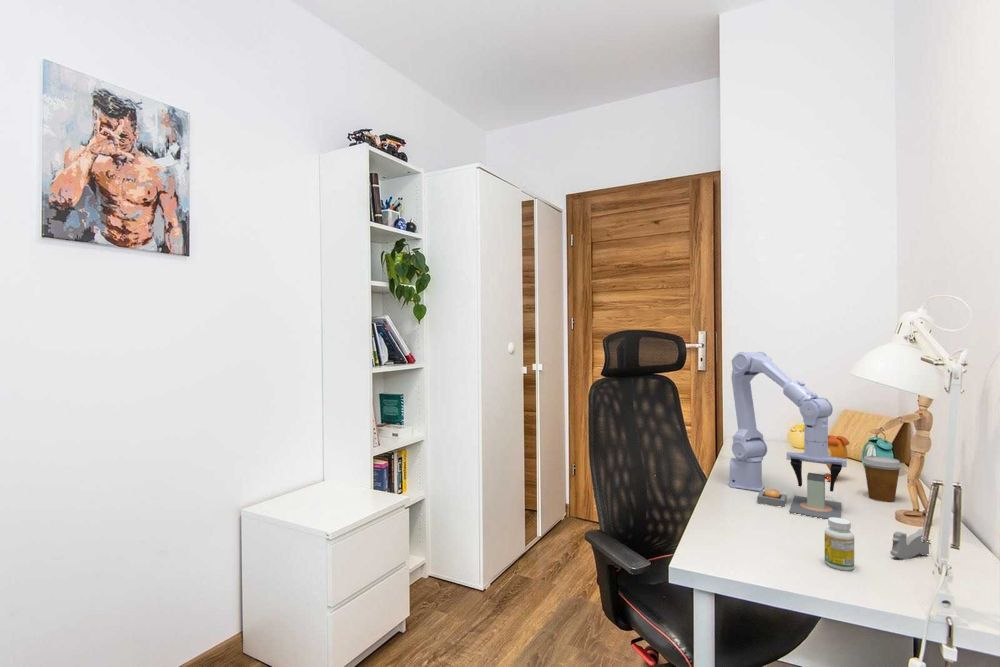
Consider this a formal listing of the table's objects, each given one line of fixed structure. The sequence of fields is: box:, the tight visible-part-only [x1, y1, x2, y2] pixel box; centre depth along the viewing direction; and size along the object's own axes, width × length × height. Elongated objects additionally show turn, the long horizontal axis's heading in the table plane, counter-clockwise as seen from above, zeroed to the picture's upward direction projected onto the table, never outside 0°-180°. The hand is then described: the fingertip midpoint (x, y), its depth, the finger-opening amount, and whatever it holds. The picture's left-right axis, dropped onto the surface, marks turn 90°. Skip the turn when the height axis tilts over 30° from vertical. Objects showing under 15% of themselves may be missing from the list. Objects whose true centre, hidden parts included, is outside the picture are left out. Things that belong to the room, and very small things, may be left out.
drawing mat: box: [788, 494, 842, 520], centre depth 146 cm, size 12×18×1 cm, turn 146°
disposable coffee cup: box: [862, 455, 902, 503], centre depth 155 cm, size 10×10×12 cm
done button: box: [764, 488, 781, 499], centre depth 151 cm, size 4×4×2 cm
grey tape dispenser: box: [889, 528, 930, 560], centre depth 114 cm, size 6×1×10 cm
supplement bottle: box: [824, 517, 855, 571], centre depth 109 cm, size 5×5×10 cm
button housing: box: [756, 490, 788, 508], centre depth 151 cm, size 7×7×2 cm
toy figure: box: [823, 434, 850, 482], centre depth 175 cm, size 12×8×15 cm, turn 159°
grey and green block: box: [806, 472, 826, 510], centre depth 146 cm, size 4×4×9 cm
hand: (815, 488), depth 146 cm, fingers open, 7 cm apart
